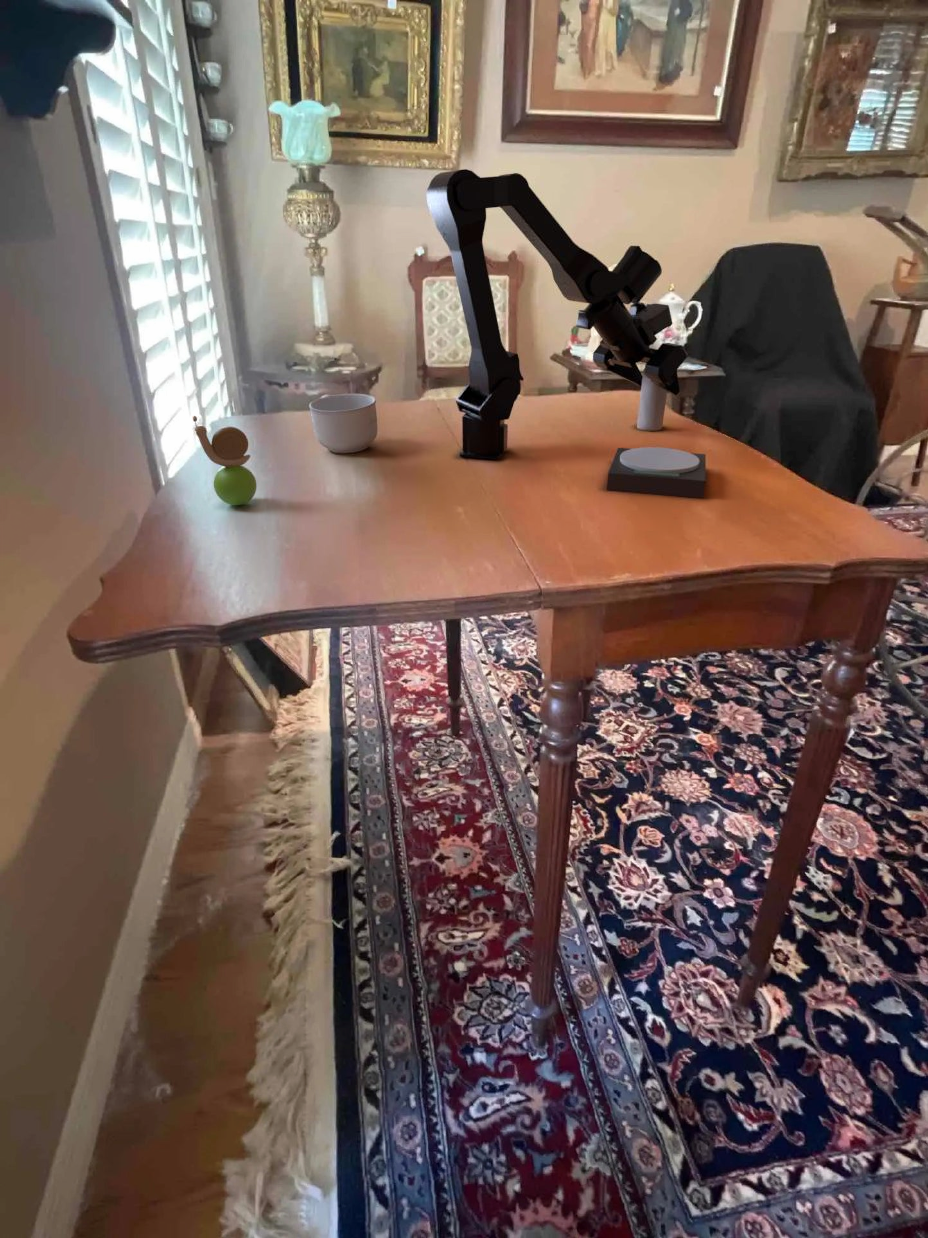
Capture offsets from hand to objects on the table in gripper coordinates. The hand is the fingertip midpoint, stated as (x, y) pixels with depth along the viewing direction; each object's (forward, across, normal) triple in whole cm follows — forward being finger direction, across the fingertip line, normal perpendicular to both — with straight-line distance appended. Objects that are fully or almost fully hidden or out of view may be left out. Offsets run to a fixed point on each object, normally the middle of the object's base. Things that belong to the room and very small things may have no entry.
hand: (659, 388), depth 124 cm
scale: (-9, -24, +19) cm, 32 cm away
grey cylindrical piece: (+4, 0, +6) cm, 7 cm away
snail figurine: (-50, -5, +59) cm, 77 cm away
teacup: (-34, +15, +43) cm, 57 cm away
